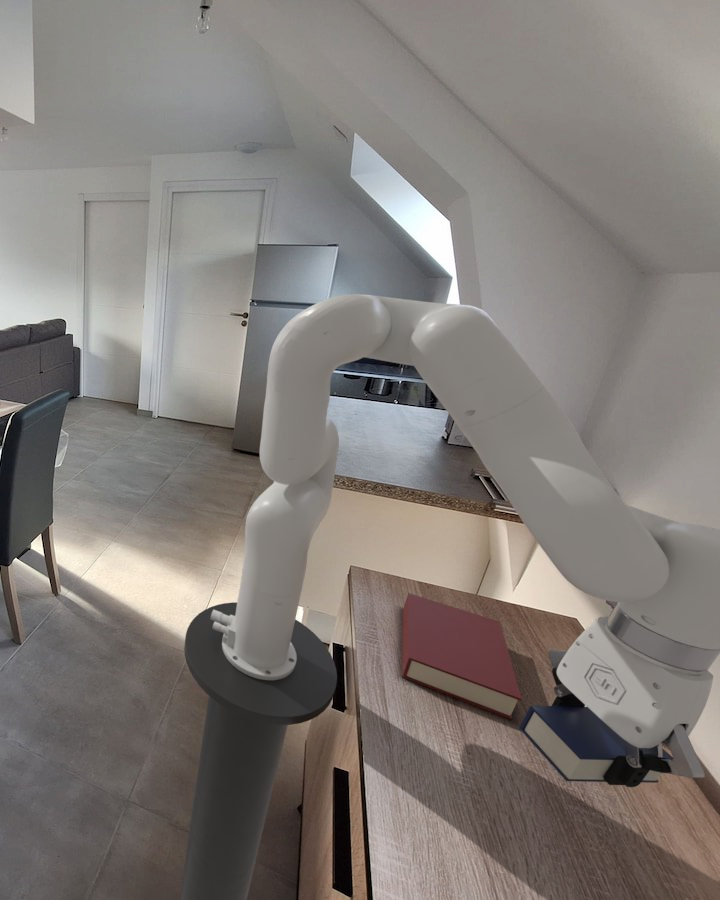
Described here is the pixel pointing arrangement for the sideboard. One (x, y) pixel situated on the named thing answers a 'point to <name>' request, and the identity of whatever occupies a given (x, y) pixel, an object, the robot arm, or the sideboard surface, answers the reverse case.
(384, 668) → the sideboard surface
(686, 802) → the sideboard surface
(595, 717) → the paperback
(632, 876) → the sideboard surface
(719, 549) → the robot arm
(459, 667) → the hardback
